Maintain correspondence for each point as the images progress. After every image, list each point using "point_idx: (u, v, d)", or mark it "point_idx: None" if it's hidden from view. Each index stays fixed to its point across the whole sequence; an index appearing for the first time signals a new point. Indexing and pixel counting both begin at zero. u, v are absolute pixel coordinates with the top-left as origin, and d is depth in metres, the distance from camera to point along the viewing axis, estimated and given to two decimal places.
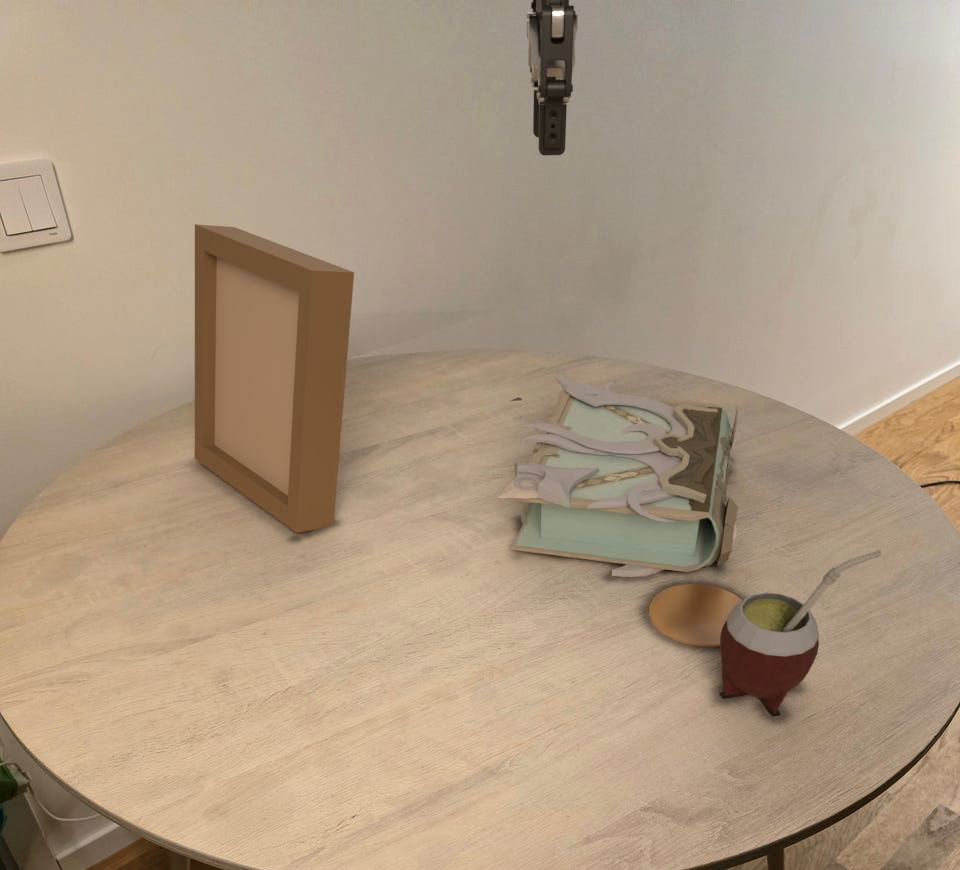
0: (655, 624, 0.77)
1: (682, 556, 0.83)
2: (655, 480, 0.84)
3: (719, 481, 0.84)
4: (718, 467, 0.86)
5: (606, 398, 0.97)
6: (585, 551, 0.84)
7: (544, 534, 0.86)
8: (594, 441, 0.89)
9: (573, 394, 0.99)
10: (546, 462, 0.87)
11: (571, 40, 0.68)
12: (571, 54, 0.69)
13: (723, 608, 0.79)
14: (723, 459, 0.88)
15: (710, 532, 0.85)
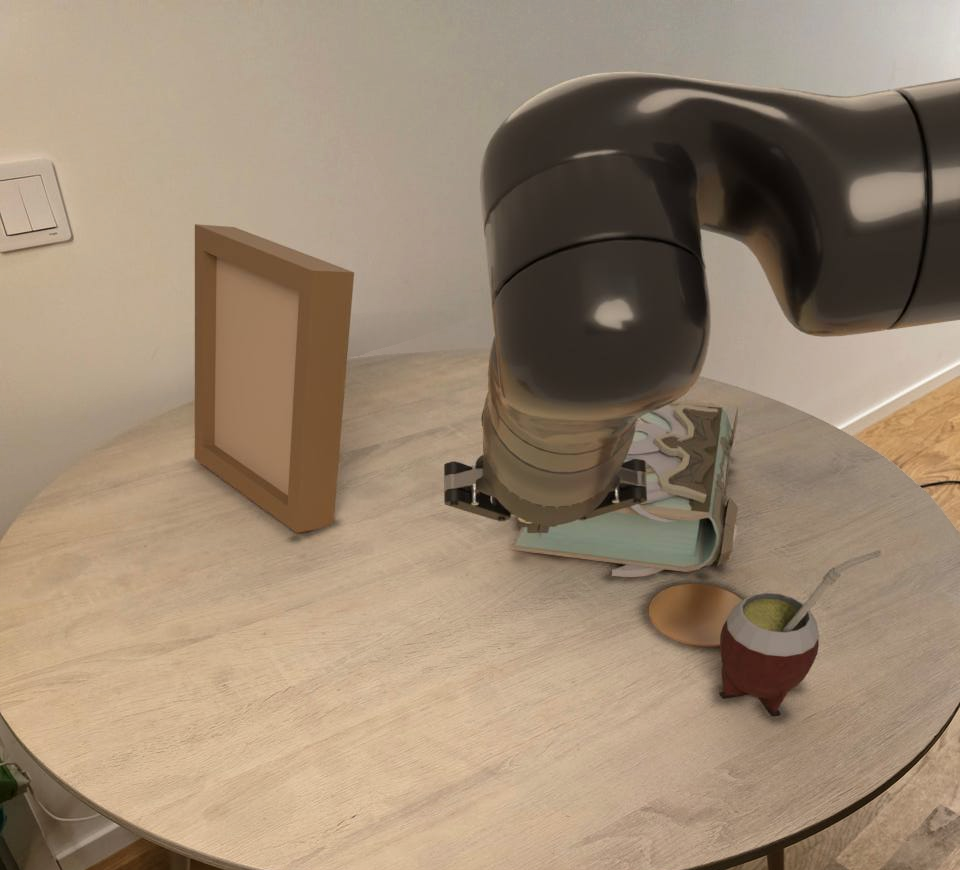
0: (655, 624, 0.77)
1: (682, 556, 0.83)
2: (655, 480, 0.84)
3: (719, 481, 0.84)
4: (718, 467, 0.86)
5: None
6: (585, 551, 0.84)
7: (544, 534, 0.86)
8: None
9: None
10: None
11: None
12: None
13: (723, 608, 0.79)
14: (723, 459, 0.88)
15: (710, 532, 0.85)
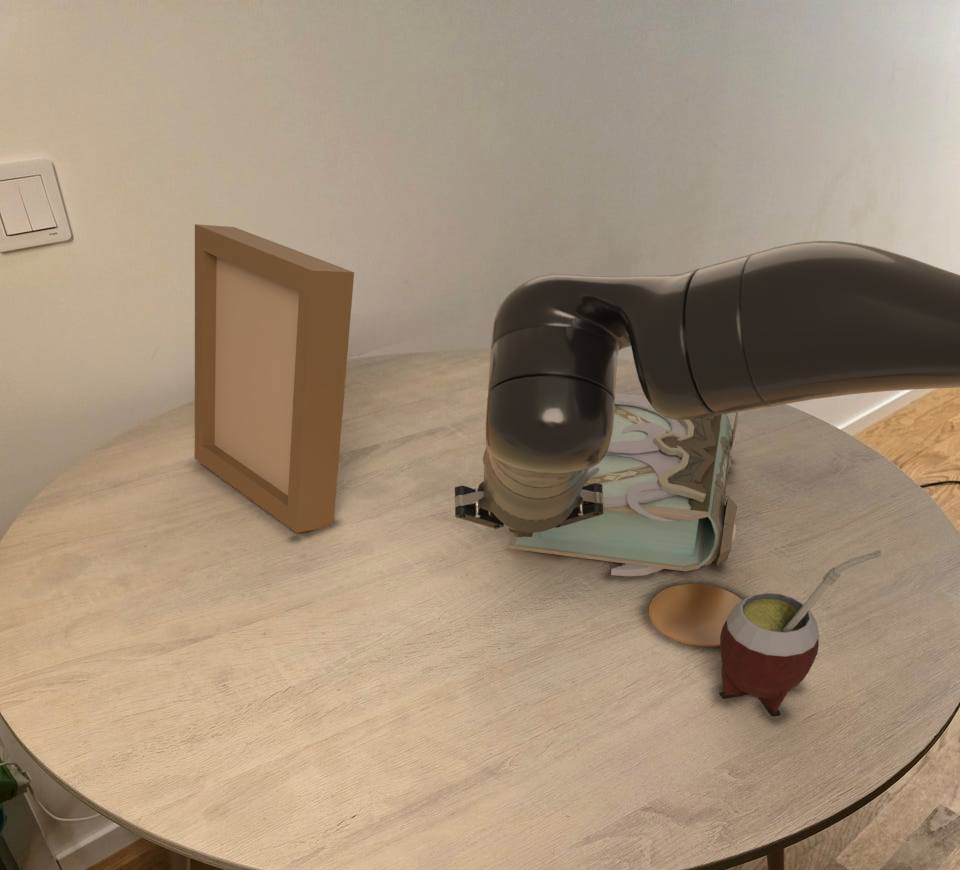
0: (655, 624, 0.77)
1: (681, 555, 0.83)
2: (655, 479, 0.84)
3: (719, 481, 0.84)
4: (718, 467, 0.86)
5: None
6: (584, 550, 0.84)
7: (544, 533, 0.86)
8: None
9: None
10: None
11: None
12: (475, 521, 0.76)
13: (723, 608, 0.79)
14: (723, 459, 0.88)
15: (709, 532, 0.85)
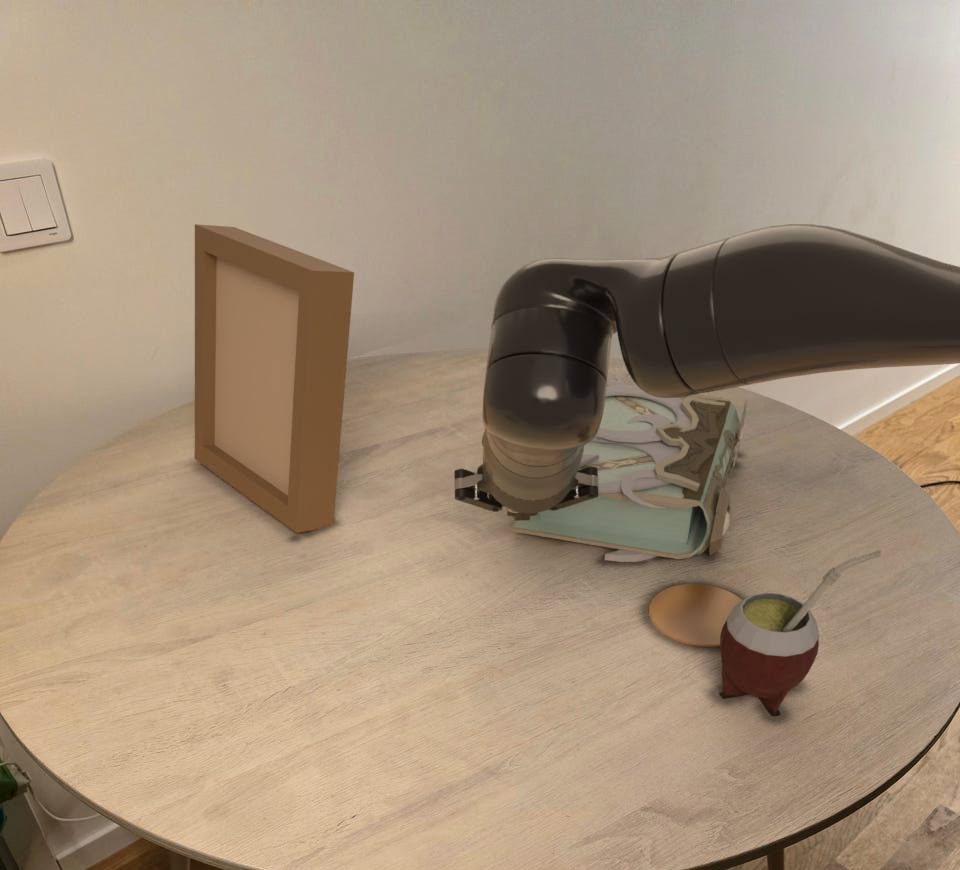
0: (655, 624, 0.77)
1: (675, 544, 0.85)
2: (653, 468, 0.86)
3: (716, 472, 0.86)
4: (717, 458, 0.88)
5: (617, 388, 0.99)
6: (581, 535, 0.86)
7: (543, 517, 0.88)
8: None
9: None
10: None
11: None
12: (474, 504, 0.79)
13: (723, 608, 0.79)
14: (724, 451, 0.89)
15: (706, 522, 0.87)
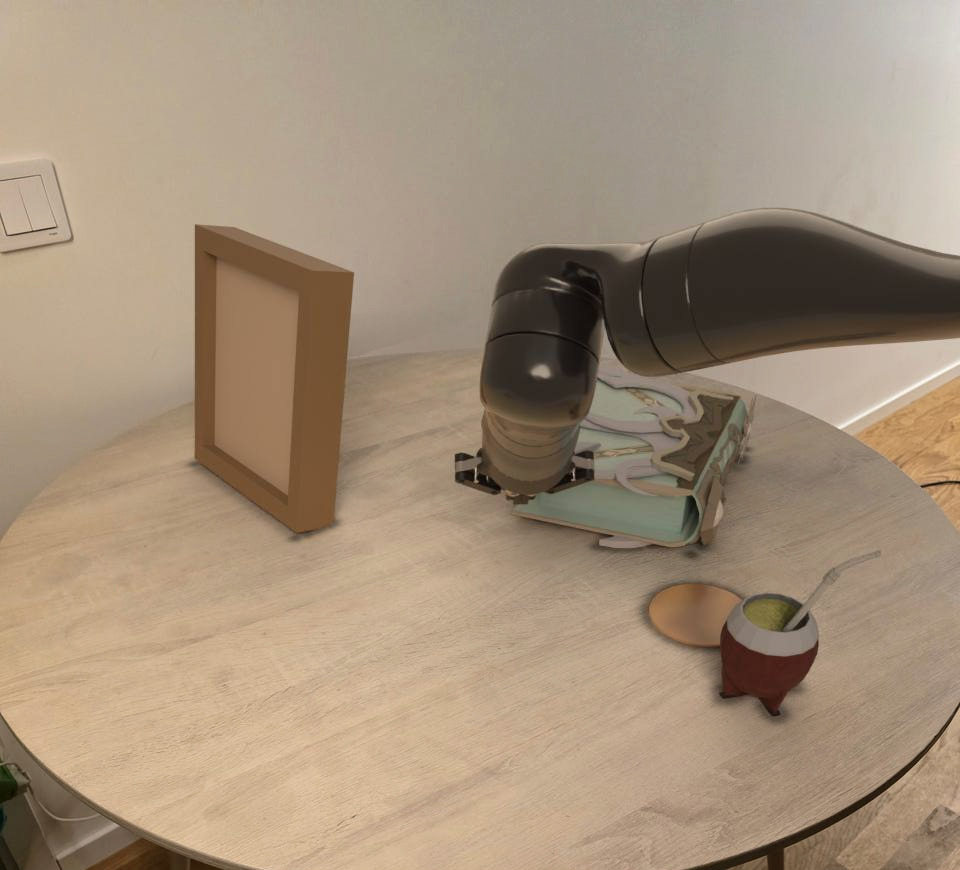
0: (655, 624, 0.77)
1: (669, 532, 0.86)
2: None
3: (714, 463, 0.87)
4: (718, 451, 0.89)
5: (628, 380, 1.01)
6: (578, 520, 0.89)
7: (543, 502, 0.91)
8: (602, 418, 0.93)
9: (598, 375, 1.03)
10: None
11: None
12: (474, 487, 0.81)
13: (723, 608, 0.79)
14: (726, 444, 0.90)
15: None
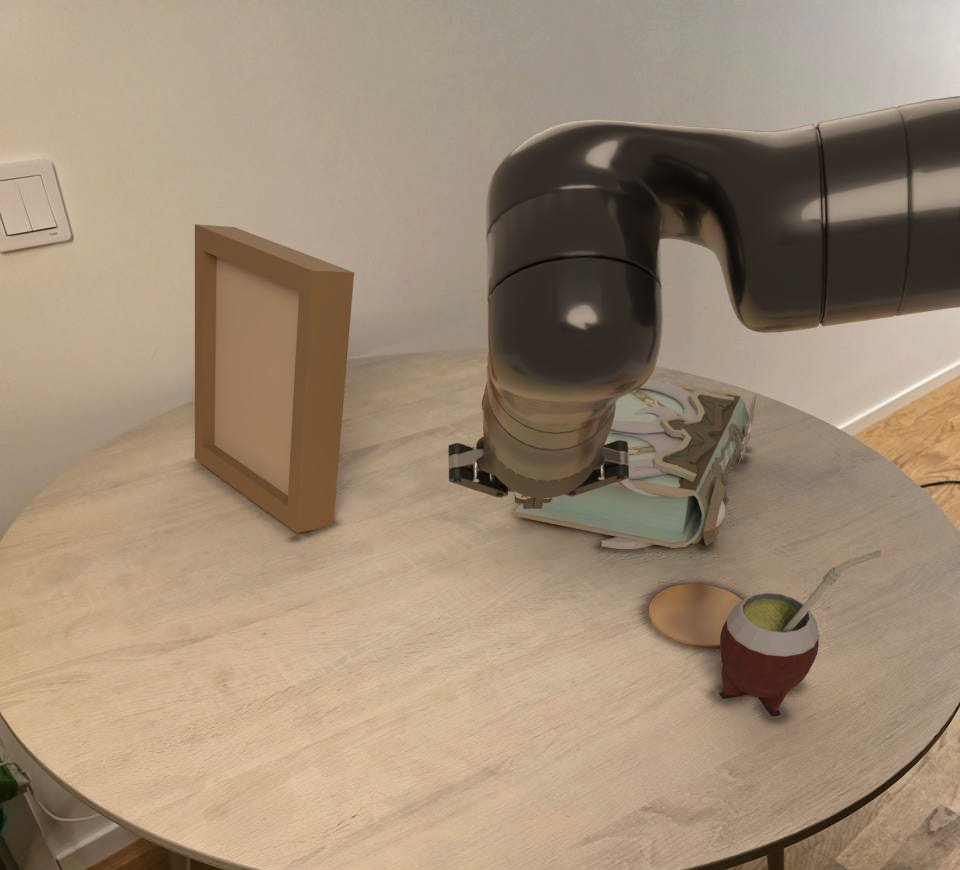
0: (655, 624, 0.77)
1: (672, 533, 0.86)
2: None
3: (716, 464, 0.87)
4: (719, 451, 0.89)
5: None
6: (580, 521, 0.88)
7: (544, 503, 0.90)
8: None
9: None
10: None
11: None
12: (473, 488, 0.63)
13: (723, 608, 0.79)
14: (727, 444, 0.90)
15: None
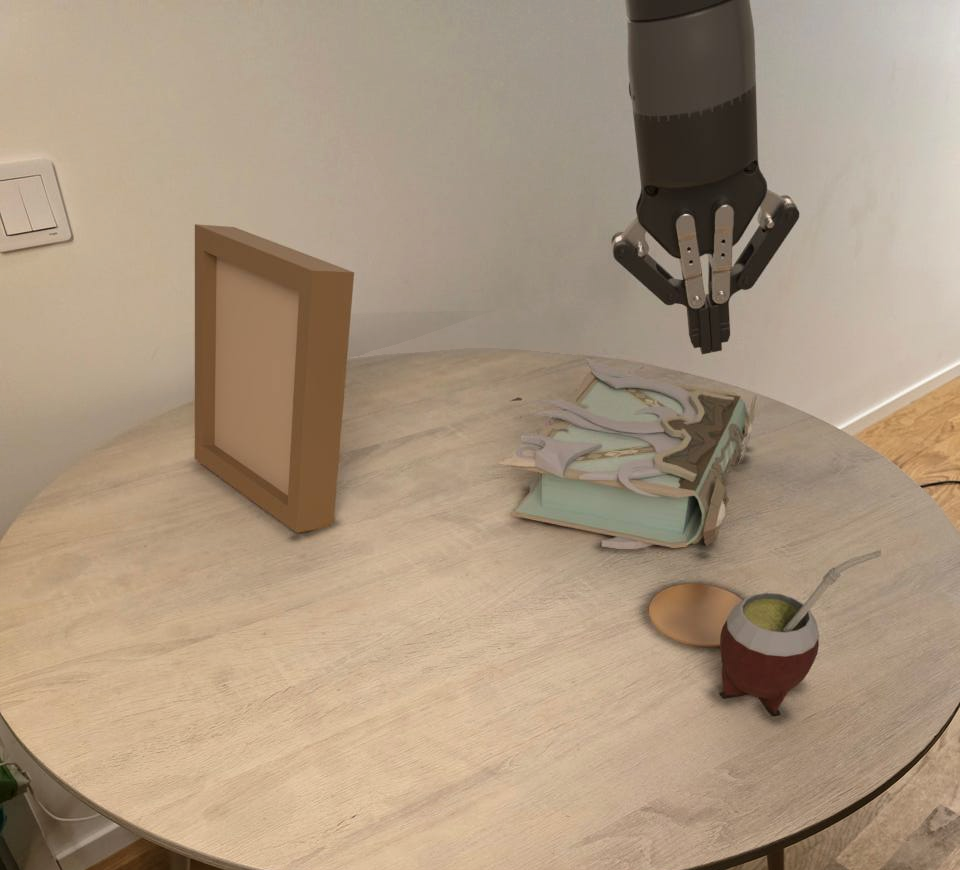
0: (655, 624, 0.77)
1: (672, 533, 0.86)
2: None
3: (716, 464, 0.87)
4: (719, 451, 0.89)
5: (629, 381, 1.01)
6: (580, 521, 0.88)
7: (544, 503, 0.90)
8: (604, 419, 0.92)
9: (598, 376, 1.02)
10: (554, 436, 0.92)
11: (632, 274, 0.62)
12: (641, 282, 0.63)
13: (723, 608, 0.79)
14: (727, 444, 0.90)
15: None
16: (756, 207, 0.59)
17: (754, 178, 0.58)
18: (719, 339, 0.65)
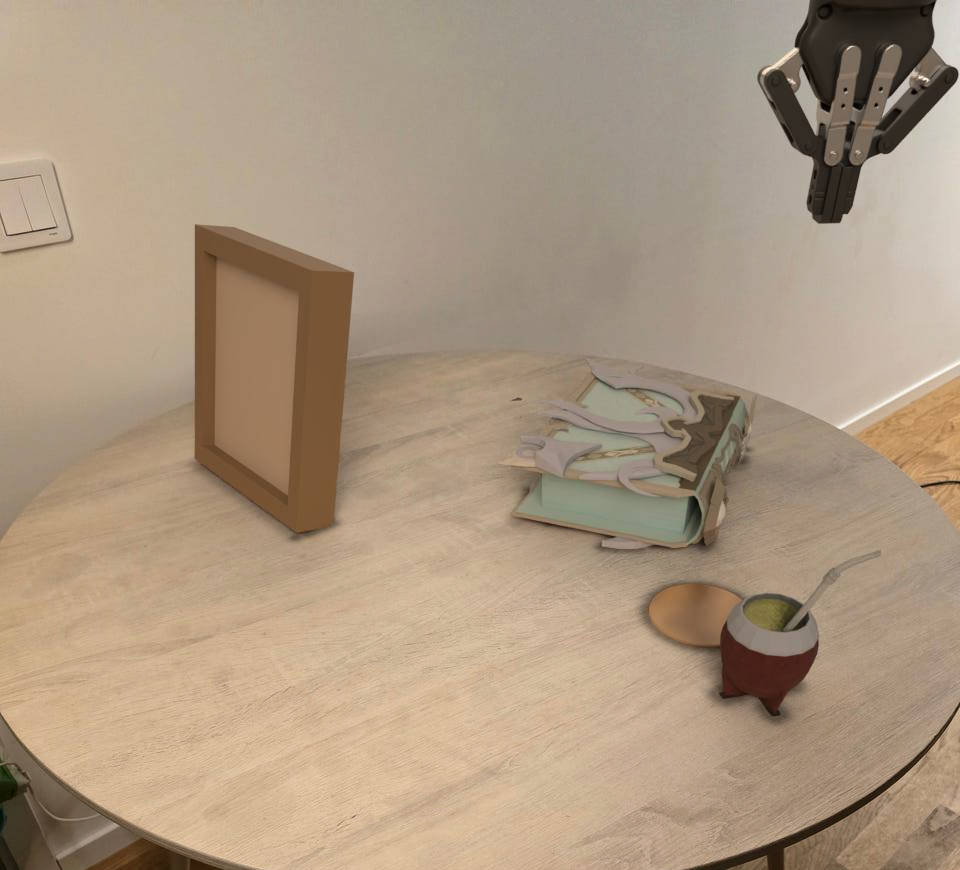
0: (655, 624, 0.77)
1: (672, 533, 0.86)
2: None
3: (716, 464, 0.87)
4: (719, 451, 0.89)
5: (629, 381, 1.01)
6: (580, 521, 0.88)
7: (544, 503, 0.90)
8: (604, 419, 0.92)
9: (598, 376, 1.02)
10: (554, 436, 0.92)
11: (778, 109, 0.59)
12: (785, 121, 0.59)
13: (723, 608, 0.79)
14: (727, 444, 0.90)
15: None
16: (919, 59, 0.57)
17: (927, 24, 0.56)
18: (842, 208, 0.62)
